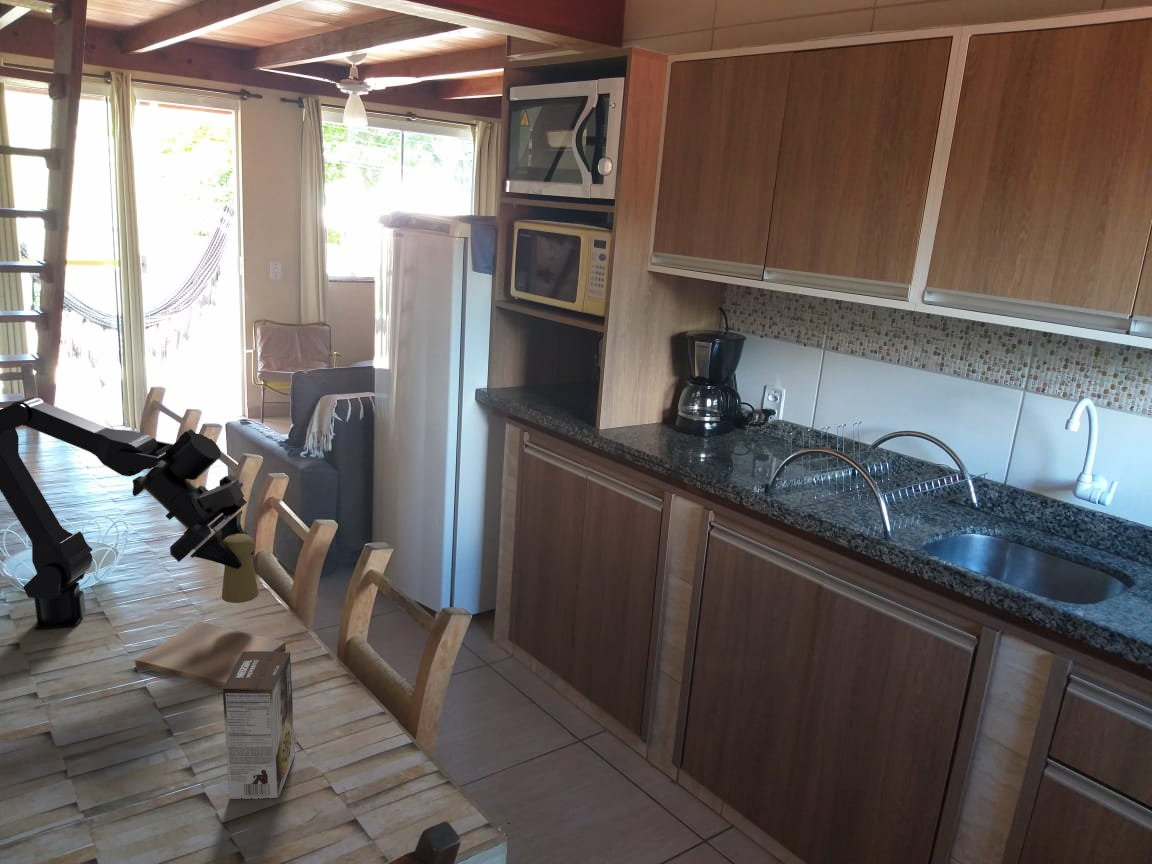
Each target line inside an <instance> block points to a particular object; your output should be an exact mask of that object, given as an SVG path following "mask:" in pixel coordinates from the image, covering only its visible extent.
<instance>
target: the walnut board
mask: <svg viewBox="0 0 1152 864" xmlns="http://www.w3.org/2000/svg"><path fill="white" fill-rule="evenodd" d="M286 643H287V642H286V641H284V640H279V639H274V638H270V637H266V636H261V635H257V634H253V633H249V632H245V631H241V630H237V629H231V628H226V627H225V626H224V627H223V626H219V625H214V624H209V623H206V622H203V621H197V622H195V623H194V624H192V625H190V626H189V627H186V628H185V629H184V630H182V631H181V632H179V633H177V634H176V635H174V636H172V637H170V638H169V639H167V640H166V641H165V642H163V643H160V644H159V645H157V646H156V647H154V648H153V649H150V650H149V651H148V652H146V653H144V654H142V655H141V656H139V657H138V658H136V659H135V667H137V668H141V669H145V670H149V671H152V672H157V673H159V674H163V675H168V676H171V677H176V678H179V679H184V680H186V681H191V682H194V683H198V684H202V685H206V686H210V687H214V688H217V689H221V690H222V689H223V686H224V685H225V683H226V681H227V679H228V677H229V676H230V674H231V672H232V670H233V668H234V666H235V665H236V663H237V661H238V659H239V657H240V655H241V654H242V652H245V651H270V652H284V650H285V649H287V648H286V647H287V646H286V645H287V644H286Z"/></svg>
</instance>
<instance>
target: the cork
mask: <svg viewBox="0 0 1152 864" xmlns="http://www.w3.org/2000/svg"><path fill="white" fill-rule="evenodd" d="M223 542H224V543H225V544H226V545H227V546H228V548H229V549H230V550H231V551H232V552H233V553H234V554H235V556H236V557H237V558H238V559H239V560H240V562H241V563H242V566H241V567H240V568H239V569H236V568H232V567H229V566H226V565H224V570H223V580H222V588H221V589H222V591H221V599H222V600H223V601H224V602H226V603H232V604H241V603H246V602H250V601H253V600H255V599H256V598H257V597H258V596H259V589H258V583H257V577H256V573H255V568H254V566H255V565H254V562H253V557H252V556H253V555H251V553H252V552H253V550H254V549H255V541H254V539H253V538H252V536H250V535H249V534H246V533H245V534H233V535H230V536H228V537H226V538H225V539H224V540H223ZM254 551H255V550H254Z"/></svg>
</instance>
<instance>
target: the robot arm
mask: <svg viewBox="0 0 1152 864" xmlns="http://www.w3.org/2000/svg"><path fill="white" fill-rule="evenodd" d="M21 426H24V427H27V428H29V429H31V430H35V431H37V432H40V433H42V434H44V435H47V436H49V437H52V438H54V439H57V440H59V441H62V442H64V443H66V444H69V445H72V446H74V447H76V448H79V449H81V450H84V451H87V452H89V454H90V453H91V454H93V455H94V456H95V457H96V458H97V459H98V460H99V461H100V462H101V464H102V465H103V466H104V467H106V468H109V469H110V470H112V471H113V472H115V473H117V474H118V475H121V476H124V477H132V476H136V475H138V474H140V473H141V472H144V471H145V470H149V469H150V470H149V471H148V472H147V473H146V474H145V475H144V476H141V475H139V476H137V477H136V478H134V479H132V484H133V487H132V496H133V497H137V496H138V495H141V493H143V492H145V491H146V492H147V493H148V494H149V495H151V496H152V497H153V499H155V501H157V502H158V503H159V504H160V505H161V506H162V507H163V508H164V509H165V510H166V511H167V512H168V513H167V514H165V517H166V518H167V519H168V520H169V521H170V520H172V519H173V518H175V519H176V521H178V522H179V523H180V525H182V526H183V527H184V528H185V529H186V530H185V531H184V532H183V534H182V535H181V536H180V537H179V538H178V539H177V540H175V542H174V543H173V544H171V546H170V547H169V555H170V556H171V557H172V558H174V560H175V561H177V563H180V562H181V561H183V559H185V558H186V557H187V556H188V555H189V554H190V553H191V552H192V551H194V552H192V554H191V555H189V557H190V558H192V559H194V558H199V559H203V560H206V561H210V562H213V563H218V564H221V565H224V566H225V565H226V566H229V567H232V568H236V569H239V568H240V567H241V566H242V563H241V562H240V560H239V559H238V558H237V557H236V556H235V554H234V553H233V552H232V551H231V550H230V549H229V548H228V546H227V545H226V544H225V543H224V542H223V540H224V539H225V538H226V537H228V536H230V535H233V534H246V533H245V531H244V529H243V526H242V525H241V523H242V522H241V519H242V514H243V509H241V508H243V506H245V505H246V504H247V503H248V501H247V500H245V498H244V497H245V495H244V493H243V490H242V488H243V486H244V484H243V482H241V481H240V480H239V479H238V478H237V477H235V476H233V474H228V475H226V476H224V477H222V478H221V479H220V480H219V485H217V486H215V488H212V489H210V490H209V489H208V488H206V487H205V486H203V485H200V486H198V487H196V486H195V485H193V484H192V483H191V481H195V480H197V479H199V478H200V477H201V476H202V475H203V474H205V472H206V471H207V470H209V468H211V467H212V466H213V465H214V464H215V463H216V462H217V461H218V460H219V459H220V458H221V457H222V452H221V449H220V447H219V445H218V444H217V443H216V442H215V440H213V439H212V438H209V437H207V436H205V435H203V434H200V433H196V432H195V431H194V429H192V428H189V429H186V431H184V432H183V433H182V434H181V435H180V436H179V437H178V439H177V440H176V441H175V442H174V443H169V442H164V441H161V440H160V441H159V440H156V439H155V438H154V437H153V436H151V435H148V434H145V433H141V432H136V431H134V430H133V431H132V430H127V429H126V430H125V429H113V428H111V427H105V426H103V425H101V424H99V423H97V422H93V421H91V420H88V419H86V418H84V417H81V416H79V415H77V414H74V413H71V412H69V411H67V410H64V409H61V408H60V407H57V406H54V405H52V404H50V403H48V402H45V401H44V400H43V399H41V398H40V397H35V396H28V397H26V398H23V399H19V400H17V401H14V402H12V403H11V404H10V405H7V406H6V407H3V408H0V492H1V494H2V495H3V497H4V498H5V500H6V502H7V504H8V506H9V507H10V509H11V510H12V512H13V514H14V515H15V516H16V519H17V521H18V522H19V523H20V525H21V527H22V529H23V530H24V532H25V533H26V536H27V537H28V538H29V540H30V542H31V561H32V564H33V567H34V569H35V571H36V574H35V575H34V576H33V577H32V578H31V579H30V580H29V581H28V582H26V584H24V585H23V590H24V593H25V595H26V596H27V597H28V598H29V599H30V598H31V599H34V606H35V607H34V608H35V615H36V622H35V624H34V626H33V630H45V629H57V628H71V627H76V626H77V625H78V624H79V622H80V621H81V619H82V618H83V616H84V615H85V612H86V605H85V603H86V602H85V593H84V591H83V590H81V589H80V582H79V581H81V580H83V579H84V578H85V575H86V572H87V571H89V570H90V568H91V567H92V562H93V555H92V553H91V552H92V551H93V548H92V547H91V546H89V544H88V542H87V541H86V539H85V537H84V534H83V533H82V532H81V531H79V530H78V531H77V532H75V533H71V532H69V531H68V530H67V529H65V528H64V527H63V526H62V525H61V523H60V522H59V519H58V518H57V517H56V515H55V514H54V511H53V510H52V508H51V507H50V505H49V503H48V502H47V499H46V498H45V497H44V494H42V491H41V490H40V489H39V487H38V484H37V483H36V482H35V480H34V478H33V476H32V475H31V473H30V472H29V469H28V468H27V467H26V465H25V463H24V461H23V459H22V457H21V456H20V453H19V451H20V450H19V448H20V447H19V446H20V445H19V434H18V432H17V429H16V428H19V427H21ZM163 462H164V463H165V464H164V465H162V466H157V465H160V464H162V463H163ZM239 510H240V511H239ZM236 513H237V514H236ZM215 531H216V532H215ZM254 553H255V550H253V552H252V553H251V556H253V555H254Z"/></svg>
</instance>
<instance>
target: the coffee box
mask: <svg viewBox="0 0 1152 864" xmlns="http://www.w3.org/2000/svg"><path fill="white" fill-rule="evenodd" d="M291 663H292V662H291V652H290V651H281V652H270V651H245V652H242V654H241V655H240V657H239V659H238V661H237V663H236V665H235V666H234V668H233V670H232V672H231V674H230V676H229V677H228V679H227V681H226V683H225V685H224V686H223V689H221V690H222V697H223V698H222V700H223V716H224V717H223V718H224V731H225V732H224V733H225V746H226V747H225V749H226V761H227V762H226V763H227V765H226V766H227V781H228V782H227V783H228V797H229V798H228V799H230V800H256V799H257V800H262V799H263V798H270V799H269V800H272V799H271V798H277V799H279V798H280V796H279V795H281V793H282V790H283V788H284V785H285V782H286V779H287V778H288V777H287V776H288V774H289V771H290V769H291V766H292V763H293V761H294V757H295V756H296V748H295V746H296V745H295V729H294V707H293V706H294V704H293V703H294V702H293V686H292V685H293V681H292V665H291ZM278 797H279V798H278ZM241 798H242V799H241ZM251 798H252V799H251ZM258 798H259V799H258ZM261 798H262V799H261ZM263 800H264V799H263Z"/></svg>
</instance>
